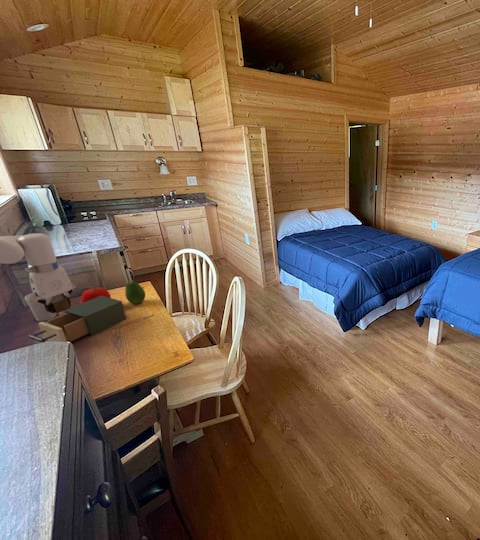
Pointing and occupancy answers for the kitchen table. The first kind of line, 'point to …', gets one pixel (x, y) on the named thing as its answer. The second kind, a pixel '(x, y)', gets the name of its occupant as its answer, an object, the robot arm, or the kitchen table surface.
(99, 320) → the cabinet
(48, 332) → the drawer
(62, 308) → the block
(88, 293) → the tomato
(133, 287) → the fruit
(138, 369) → the kitchen table surface
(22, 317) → the kitchen table surface
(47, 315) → the cup
